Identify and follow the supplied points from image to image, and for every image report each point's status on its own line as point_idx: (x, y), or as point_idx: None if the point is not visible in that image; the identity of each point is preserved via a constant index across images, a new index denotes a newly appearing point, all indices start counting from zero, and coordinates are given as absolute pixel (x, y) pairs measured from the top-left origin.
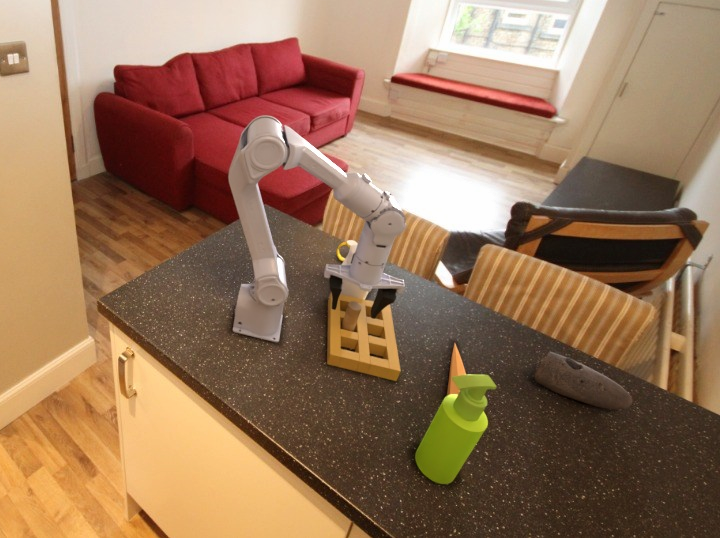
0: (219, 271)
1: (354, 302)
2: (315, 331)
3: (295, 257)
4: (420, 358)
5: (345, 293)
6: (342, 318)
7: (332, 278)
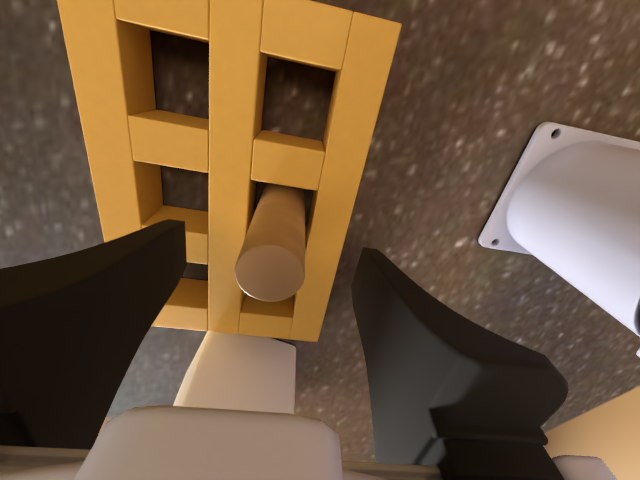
0: (582, 359)
1: (269, 294)
2: (384, 196)
3: (370, 421)
4: (8, 120)
5: (263, 344)
6: None
7: (531, 460)
